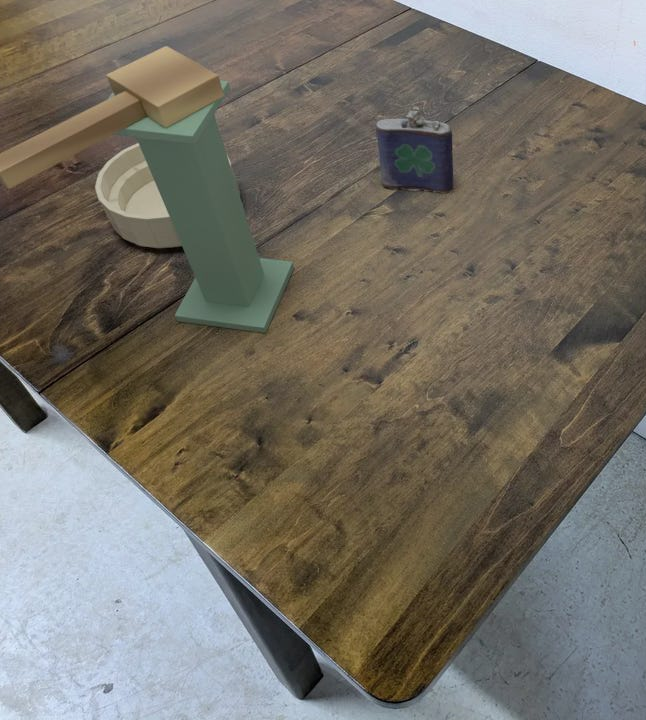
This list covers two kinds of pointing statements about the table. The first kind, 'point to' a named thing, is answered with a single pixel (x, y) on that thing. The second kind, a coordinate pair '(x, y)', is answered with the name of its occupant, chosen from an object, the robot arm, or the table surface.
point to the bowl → (136, 200)
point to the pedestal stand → (210, 223)
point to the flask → (415, 153)
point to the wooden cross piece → (119, 111)
